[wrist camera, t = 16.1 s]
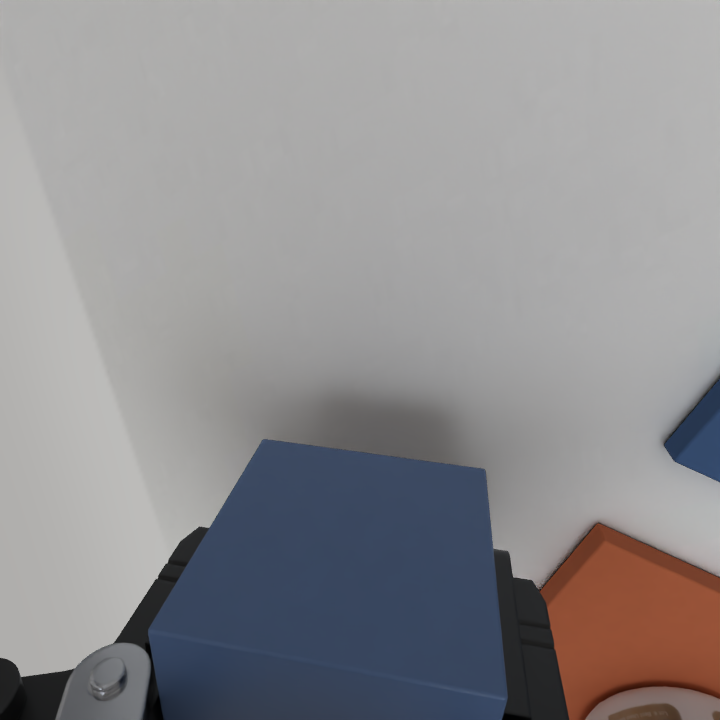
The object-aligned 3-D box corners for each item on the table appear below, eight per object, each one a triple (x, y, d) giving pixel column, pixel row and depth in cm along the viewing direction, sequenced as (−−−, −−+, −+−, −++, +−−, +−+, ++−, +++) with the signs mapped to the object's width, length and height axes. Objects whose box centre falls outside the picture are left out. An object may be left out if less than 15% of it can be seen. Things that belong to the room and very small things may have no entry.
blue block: (268, 594, 14) (179, 819, 9) (262, 437, 12) (145, 630, 7) (456, 628, 13) (458, 885, 9) (485, 468, 11) (509, 699, 7)
